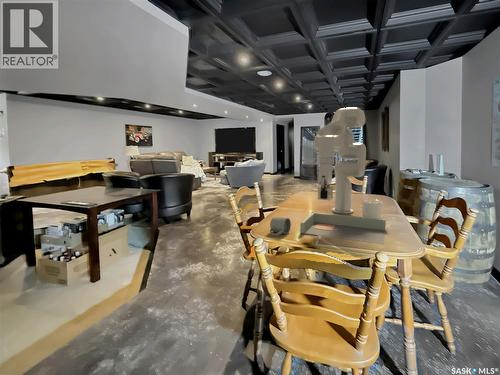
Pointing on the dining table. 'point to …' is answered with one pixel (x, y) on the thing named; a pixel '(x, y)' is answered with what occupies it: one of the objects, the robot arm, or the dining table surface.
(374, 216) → the candle holder
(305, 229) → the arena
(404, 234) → the dining table surface
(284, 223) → the ceramic mug
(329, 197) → the birch cube
